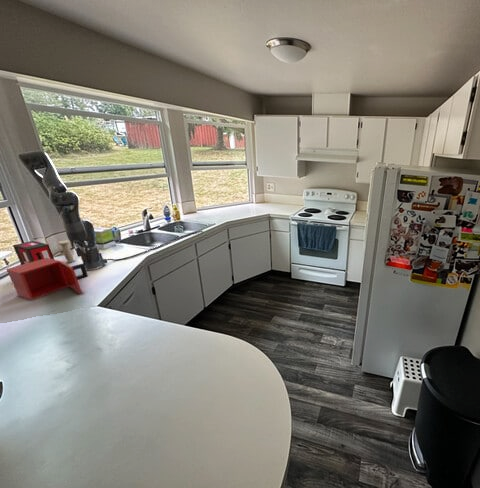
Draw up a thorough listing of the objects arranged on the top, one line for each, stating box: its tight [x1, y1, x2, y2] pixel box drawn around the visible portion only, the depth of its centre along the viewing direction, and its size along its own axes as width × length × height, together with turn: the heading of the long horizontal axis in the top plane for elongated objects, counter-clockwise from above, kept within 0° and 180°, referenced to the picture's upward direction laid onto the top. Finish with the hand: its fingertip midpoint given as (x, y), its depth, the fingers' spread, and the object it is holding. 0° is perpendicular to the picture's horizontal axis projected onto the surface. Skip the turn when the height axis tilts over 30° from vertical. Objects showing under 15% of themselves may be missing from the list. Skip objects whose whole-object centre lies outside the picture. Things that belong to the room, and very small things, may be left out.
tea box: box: [93, 226, 116, 250], centre depth 202 cm, size 15×10×15 cm, turn 80°
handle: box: [58, 239, 75, 263], centre depth 173 cm, size 5×6×15 cm
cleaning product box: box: [12, 240, 55, 265], centre depth 154 cm, size 16×9×20 cm, turn 70°
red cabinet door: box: [60, 260, 89, 295], centre depth 141 cm, size 6×16×16 cm, turn 60°
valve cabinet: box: [5, 258, 69, 301], centre depth 137 cm, size 12×16×16 cm
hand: (85, 257), depth 139 cm, fingers open, 8 cm apart
